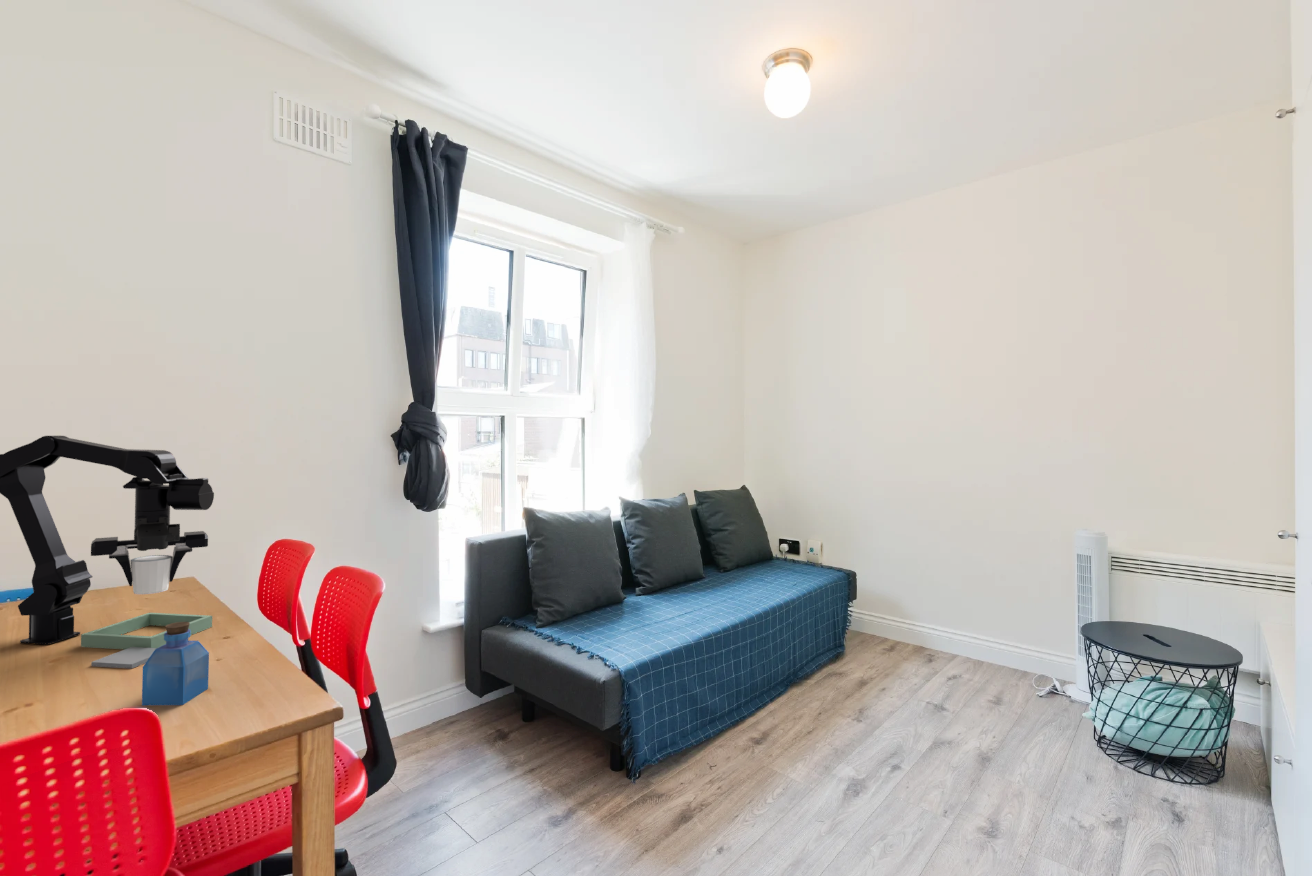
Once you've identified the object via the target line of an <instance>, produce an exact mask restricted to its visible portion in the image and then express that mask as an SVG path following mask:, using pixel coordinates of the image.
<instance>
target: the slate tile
mask: <svg viewBox="0 0 1312 876" xmlns="http://www.w3.org/2000/svg"><path fill="white" fill-rule="evenodd" d="M155 649H157V648H144V647H130V648H128V649H121V650H120V651H118V652H114V653H111V654H109V655H106V656H103V657H101V658H98V659H96V660H94V661H93V660H92V661H91V662H90V663H91V665H90V666H91V667H96V668H116V669H134V668H136V667H140V666H141V665H145V663H146V662H147V660H148V659H149V658H150V656H151V655H152V653H153V652H154V651H155Z"/></svg>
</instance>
